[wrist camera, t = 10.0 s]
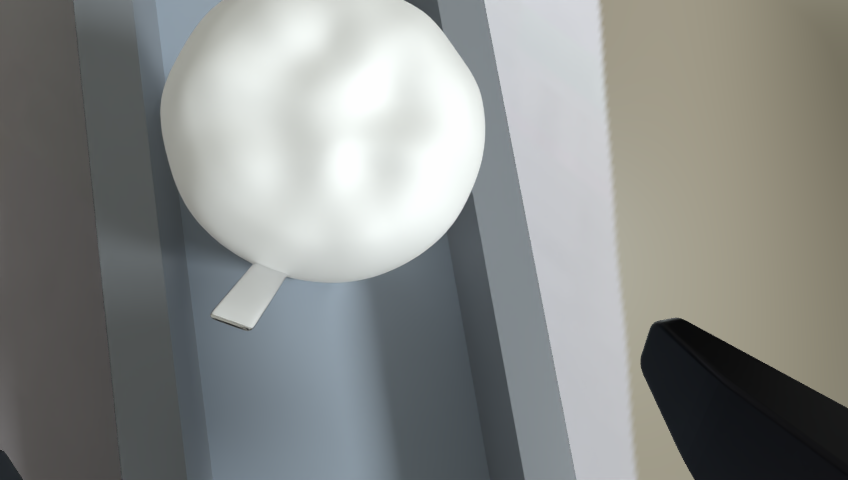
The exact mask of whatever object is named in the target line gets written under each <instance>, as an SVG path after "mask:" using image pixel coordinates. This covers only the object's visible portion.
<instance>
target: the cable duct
mask: <svg viewBox="0 0 848 480" xmlns="http://www.w3.org/2000/svg"><path fill="white" fill-rule="evenodd" d="M221 1H222V0H73V4H74V13H75V23H76V33H77V43H78V53H79V62H80V72H81V82H82V92H83V102H84V112H85V121H86V131H87V141H88V151H89V161H90V171H91V180H92V190H93V200H94V210H95V220H96V230H97V239H98V249H99V259H100V269H101V279H102V289H103V298H104V308H105V318H106V328H107V338H108V348H109V357H110V367H111V377H112V387H113V397H114V407H115V416H116V426H117V436H118V446H119V456H120V466H121V475H122V480H576V475H575V470H574V465H573V460H572V455H571V450H570V444H569V439H568V434H567V429H566V424H565V418H564V413H563V408H562V403H561V398H560V392H559V387H558V382H557V377H556V372H555V367H554V361H553V356H552V351H551V346H550V341H549V335H548V330H547V325H546V320H545V315H544V309H543V304H542V299H541V294H540V289H539V283H538V278H537V273H536V268H535V263H534V258H533V252H532V247H531V242H530V237H529V232H528V226H527V221H526V216H525V211H524V206H523V200H522V195H521V190H520V185H519V180H518V175H517V169H516V164H515V159H514V154H513V149H512V143H511V138H510V133H509V128H508V123H507V117H506V112H505V107H504V102H503V97H502V91H501V86H500V81H499V76H498V71H497V66H496V60H495V55H494V50H493V45H492V40H491V34H490V29H489V24H488V19H487V14H486V8H485V3H484V0H404V1H406V2H408V3H410V4H412V5H414V6H415V7H417V8H418V9H420V10H422V11H423V12H424V13H426V14H427V15H428V16H429V17H430V18H431V19H432V20H433V21H434V22H435V23H436V24H437V25H438V26H439V28H440V29H441V30H442V31H443V33H444V34H445V35H446V37H447V38H448V40H449V41H450V42H451V44H452V45H453V47H454V48H455V50H456V51H457V52H458V54H459V55H460V57H461V58H462V60H463V61H464V62H465V64H466V65H467V67H468V68H469V70H470V72H471V73H472V75H473V77H474V79H475V81H476V83H477V85H478V87H479V90H480V93H481V97H482V101H483V107H484V115H485V144H484V151H483V157H482V162H481V165H480V169H479V172H478V175H477V178H476V180H475V183H474V186H473V188H472V190H471V193H470V195H469V197H468V199H467V201H466V203H465V205H464V207H463V209H462V211H461V212H460V214H459V216H458V217H457V219H456V220H455V222H454V223H453V224H452V226H451V227H450V228H449V229H448V231H447V232H446V233H445V234H444V235H443V236H442V237H441V238H440V239H439V240H438V241H437V242H436V243H434V244H433V245H432V246H431V247H430V248H428V249H427V250H426V251H424V252H423V253H422V254H420V255H419V256H417V257H416V258H414V259H413V260H411V261H409V262H407V263H406V264H404V265H402V266H400V267H398V268H396V269H393V270H391V271H389V272H386V273H384V274H381V275H378V276H375V277H371V278H367V279H363V280H358V281H352V282H342V283H323V282H310V281H294V280H293V279H291V278H289V277H286V278H285V280H284V282H283V283H282V285H281V286H280V288H279V290H278V291H277V293H276V294H275V296H274V298H273V299H272V301H271V302H270V304H269V306H268V307H267V309H266V310H265V312H264V314H263V315H262V317H261V318H260V320H259V321H258V323H257V324H256V326H255V327H254V328H253V329H252V330H251V331H245V330H241V329H238V328H236V327H233V326H230V325H227V324H224V323H222V322H219V321H216V320H214V319H212V318H211V317H210V314H211V312H212V310H213V309H214V308H215V307H216V306H217V305H218V303H219V302H220V301H221V300H222V299H223V298H224V297H225V295H226V294H227V293H228V292H229V291H230V290H231V289H232V287H233V286H234V285H235V284H236V283H237V282H238V281H239V279H240V278H241V277H242V276H243V275H244V274H245V273H246V271H247V270H248V269H249V268H250V267H251V266H252V265H253V264H252V263H250V262H248V261H246V260H244V259H243V258H241V257H239V256H238V255H236V254H234V253H233V252H231V251H230V250H228V249H227V248H226V247H224V246H223V245H222V244H220V243H219V242H218V241H217V240H215V239H214V238H213V237H212V236H211V235H210V234H209V233H208V232H207V231H206V230H205V229H204V228H203V227H202V226H201V225H200V224H199V223H198V222H197V220H196V219H195V218H194V217H193V215H192V214H191V212H190V211H189V209H188V208H187V206H186V204H185V203H184V201H183V199H182V197H181V195H180V193H179V191H178V189H177V186H176V184H175V181H174V178H173V175H172V172H171V169H170V165H169V162H168V158H167V154H166V150H165V146H164V141H163V136H162V129H161V118H160V107H161V98H162V93H163V89H164V86H165V83H166V80H167V78H168V75H169V73H170V71H171V69H172V67H173V65H174V63H175V61H176V59H177V57H178V55H179V53H180V52H181V50H182V48H183V46H184V45H185V43H186V41H187V40H188V38H189V36H190V35H191V33H192V32H193V30H194V29H195V28H196V26H197V25H198V24H199V22H200V21H201V20H202V19H203V18H204V16H205V15H206V14H207V13H208V12H209V11H210V10H211V9H212V8H213V7H215V6H216V5H217V4H218V3H220V2H221Z"/></svg>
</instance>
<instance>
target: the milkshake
mask: <svg viewBox="0 0 848 480" xmlns="http://www.w3.org/2000/svg"><path fill="white" fill-rule="evenodd" d="M160 118H161V129H162V136H163V141H164V146H165V150H166V154H167V158H168V162H169V165H170V169H171V172H172V175H173V178H174V181H175V184H176V186H177V189H178V191H179V193H180V195H181V197H182V199H183V201H184V203H185V204H186V206H187V208H188V209H189V211H190V212H191V214H192V215H193V217H194V218H195V219H196V220H197V222H198V223H199V224H200V225H201V226H202V227H203V228H204V229H205V230H206V231H207V232H208V233H209V234H210V235H211V236H212V237H213V238H214V239H215V240H217V241H218V242H219V243H220V244H222V245H223V246H224V247H226V248H227V249H228V250H230V251H231V252H233V253H234V254H236V255H238V256H239V257H241V258H243V259H244V260H246V261H248V262H250V263H252V264H253V265H252V266H251V267H250V268H249V269H248V270H247V271H246V273H245V274H244V275H243V276H242V277H241V278H240V279H239V281H238V282H237V283H236V284H235V285H234V286H233V287H232V289H231V290H230V291H229V292H228V293H227V294H226V295H225V297H224V298H223V299H222V300H221V301H220V302H219V303H218V305H217V306H216V307H215V308H214V309H213V310H212V312H211V314H210V317H211V318H212V319H214V320H216V321H219V322H222V323H224V324H227V325H230V326H233V327H236V328H238V329H241V330H245V331H251V330H252V329H253V328H254V327H255V326H256V324H257V323H258V321H259V320H260V318H261V317H262V315H263V314H264V312H265V310H266V309H267V307H268V306H269V304H270V302H271V301H272V299H273V298H274V296H275V294H276V293H277V291H278V290H279V288H280V286H281V285H282V283H283V282H284V280H285V278H286V277H289V278H291V279H293V280H294V281H310V282H323V283H342V282H352V281H358V280H363V279H367V278H371V277H375V276H378V275H381V274H384V273H386V272H389V271H391V270H393V269H396V268H398V267H400V266H402V265H404V264H406V263H407V262H409V261H411V260H413V259H414V258H416V257H417V256H419V255H420V254H422V253H423V252H424V251H426V250H427V249H428V248H430V247H431V246H432V245H433V244H434V243H436V242H437V241H438V240H439V239H440V238H441V237H442V236H443V235H444V234H445V233H446V232H447V231H448V229H449V228H450V227H451V226H452V224H453V223H454V222H455V220H456V219H457V217H458V216H459V214H460V212H461V211H462V209H463V207H464V205H465V203H466V201H467V199H468V197H469V195H470V193H471V190H472V188H473V186H474V183H475V180H476V178H477V175H478V172H479V169H480V165H481V162H482V157H483V151H484V144H485V115H484V107H483V101H482V97H481V93H480V90H479V87H478V85H477V83H476V81H475V79H474V77H473V75H472V73H471V72H470V70H469V68H468V67H467V65H466V64H465V62H464V61H463V60H462V58H461V57H460V55H459V54H458V52H457V51H456V50H455V48H454V47H453V45H452V44H451V42H450V41H449V40H448V38H447V37H446V35H445V34H444V33H443V31H442V30H441V29H440V28H439V26H438V25H437V24H436V23H435V22H434V21H433V20H432V19H431V18H430V17H429V16H428V15H427V14H426V13H424V12H423V11H422V10H420V9H418V8H417V7H415V6H414V5H412V4H410V3H408V2H406V1H404V0H222V1H221V2H220V3H218V4H217V5H216V6H215V7H213V8H212V9H211V10H210V11H209V12H208V13H207V14H206V15H205V16H204V18H203V19H202V20H201V21H200V22H199V24H198V25H197V26H196V28H195V29H194V30H193V32H192V33H191V35H190V36H189V38H188V40H187V41H186V43H185V45H184V46H183V48H182V50H181V52H180V53H179V55H178V57H177V59H176V61H175V63H174V65H173V67H172V69H171V71H170V73H169V75H168V78H167V80H166V83H165V86H164V89H163V93H162V98H161V107H160Z"/></svg>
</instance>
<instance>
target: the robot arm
mask: <svg viewBox="0 0 848 480" xmlns="http://www.w3.org/2000/svg"><path fill="white" fill-rule="evenodd" d="M641 369H642V372H643V375H644V377H645V379H646V381H647V383H648V386H649V388H650V390H651V392H652V394H653V396H654V399H655V401H656V403H657V405H658V407H659V409H660V411H661V414H662V416H663V418H664V420H665V422H666V424H667V426H668V429H669V431H670V433H671V435H672V437H673V440H674V442H675V444H676V446H677V448H678V450H679V452H680V454H681V456H682V458H683V460H684V462H685V464H686V465H687V467H688V469H689V471H690V472H691V474H692V476H693V478H694V479H695V480H848V408H847V407H845V406H843V405H841V404H839V403H837V402H835V401H834V400H832V399H830V398H828V397H826V396H824V395H822V394H820V393H819V392H817V391H815V390H813V389H811V388H810V387H808V386H806V385H804V384H802V383H800V382H798V381H797V380H795V379H793V378H791V377H789V376H787V375H786V374H784V373H782V372H780V371H778V370H776V369H774V368H773V367H771V366H769V365H767V364H765V363H763V362H761V361H760V360H758V359H756V358H754V357H752V356H750V355H749V354H746V353H745V352H743V351H741V350H739V349H737V348H735V347H734V346H732V345H730V344H728V343H726V342H725V341H722V340H721V339H719V338H717V337H715V336H713V335H712V334H709V333H708V332H706V331H704V330H702V329H700V328H698V327H697V326H695V325H693V324H691V323H689V322H688V321H685V320H683V319H681V318H671V319H666V320H660V321H657V322H655V323H654V324H652V326H651V328H650V331H649V333H648V336H647V340H646V343H645V346H644V349H643V352H642V355H641ZM0 480H23V479H22V477H21V476H20V474H19V473H18V471H17V470H16V468H15V467H14V465H13V464H12V462H11V461H10V459H9V457H8V456H7V455H6V453H5V452H4V451H2V450H0Z"/></svg>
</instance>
